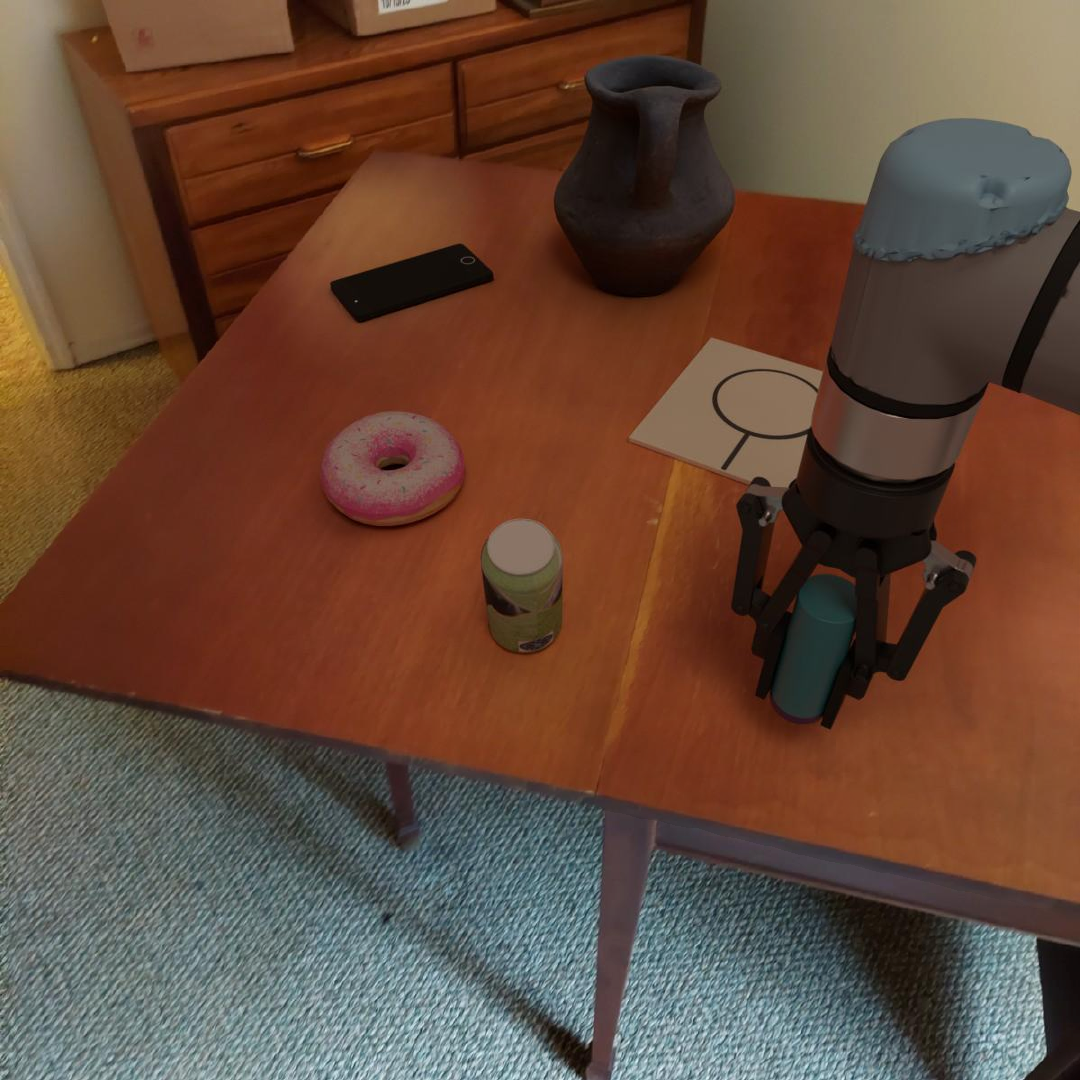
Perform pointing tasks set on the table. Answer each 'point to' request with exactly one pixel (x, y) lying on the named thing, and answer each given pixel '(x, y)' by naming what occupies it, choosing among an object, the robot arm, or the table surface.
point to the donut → (398, 492)
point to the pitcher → (644, 175)
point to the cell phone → (410, 281)
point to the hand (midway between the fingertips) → (799, 697)
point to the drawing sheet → (735, 414)
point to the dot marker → (814, 648)
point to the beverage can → (523, 585)
